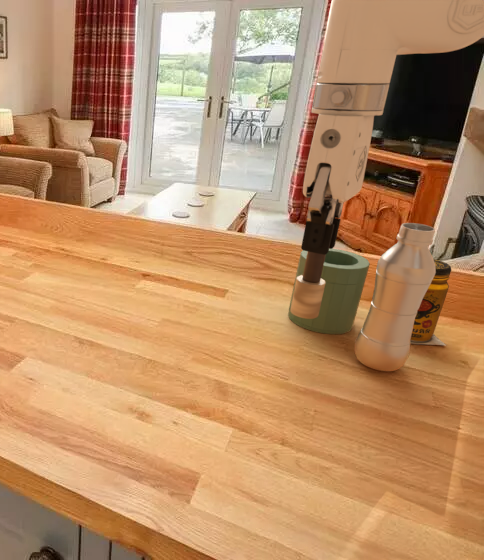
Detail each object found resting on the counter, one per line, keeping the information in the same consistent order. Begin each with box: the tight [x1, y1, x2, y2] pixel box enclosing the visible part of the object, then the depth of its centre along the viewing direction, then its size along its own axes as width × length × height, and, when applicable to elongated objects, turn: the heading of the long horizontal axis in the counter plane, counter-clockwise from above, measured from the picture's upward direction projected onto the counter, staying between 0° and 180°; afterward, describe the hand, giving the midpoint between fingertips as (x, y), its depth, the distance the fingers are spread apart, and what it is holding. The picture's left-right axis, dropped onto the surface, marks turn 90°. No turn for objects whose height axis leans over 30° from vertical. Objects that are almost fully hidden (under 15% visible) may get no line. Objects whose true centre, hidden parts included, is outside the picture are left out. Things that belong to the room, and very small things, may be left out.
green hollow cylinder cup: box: [287, 247, 371, 335], centre depth 79 cm, size 10×10×11 cm
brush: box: [290, 206, 336, 319], centre depth 65 cm, size 4×4×15 cm
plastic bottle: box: [353, 222, 436, 372], centre depth 65 cm, size 6×7×20 cm
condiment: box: [410, 258, 452, 346], centre depth 75 cm, size 7×8×12 cm
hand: (317, 247), depth 65 cm, fingers closed on brush, 2 cm apart
